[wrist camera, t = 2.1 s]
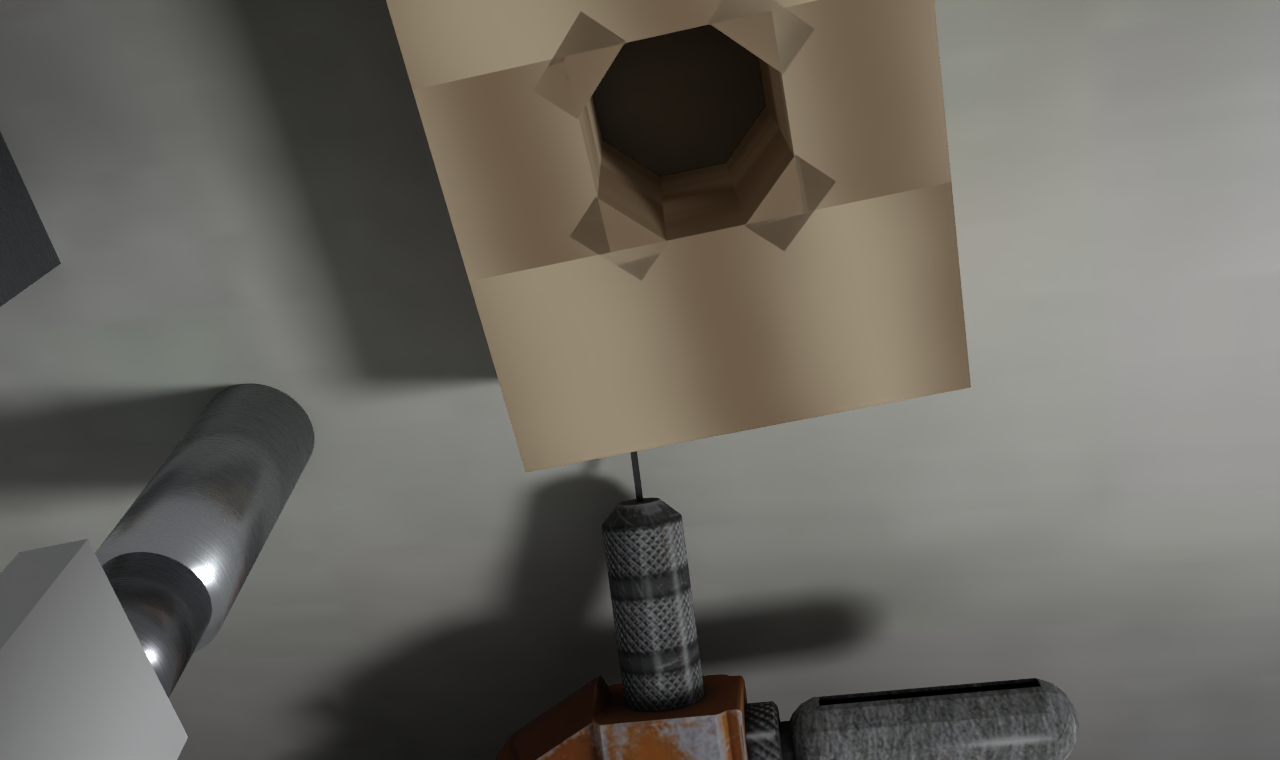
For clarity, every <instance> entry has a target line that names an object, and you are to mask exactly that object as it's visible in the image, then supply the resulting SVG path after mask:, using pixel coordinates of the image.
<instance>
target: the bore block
mask: <svg viewBox="0 0 1280 760" xmlns="http://www.w3.org/2000/svg"><path fill="white" fill-rule="evenodd" d="M386 2H387V5H388V9H389V12H390V16H391V19H392V22H393V26H394V29H395V32H396V36H397V39H398V43H399V46H400V49H401V53H402V56H403V59H404V63H405V66H406V70H407V73H408V76H409V80H410V83H411V86H412V90H413V93H414V97H415V100H416V103H417V107H418V110H419V113H420V117H421V120H422V124H423V127H424V130H425V134H426V137H427V141H428V144H429V147H430V151H431V154H432V157H433V161H434V164H435V168H436V171H437V174H438V178H439V181H440V184H441V188H442V191H443V195H444V198H445V201H446V205H447V208H448V211H449V215H450V218H451V222H452V225H453V228H454V232H455V235H456V238H457V242H458V245H459V249H460V252H461V255H462V259H463V262H464V265H465V269H466V272H467V276H468V279H469V282H470V286H471V289H472V292H473V296H474V299H475V303H476V306H477V309H478V313H479V316H480V320H481V323H482V326H483V330H484V333H485V336H486V340H487V343H488V347H489V350H490V353H491V357H492V360H493V363H494V367H495V370H496V374H497V377H498V380H499V384H500V387H501V390H502V394H503V397H504V401H505V404H506V407H507V411H508V414H509V417H510V421H511V424H512V428H513V431H514V434H515V438H516V441H517V444H518V448H519V451H520V455H521V458H522V461H523V465H524V468H525V472H530V471H535V470H541V469H546V468H551V467H556V466H562V465H567V464H572V463H577V462H582V461H588V460H593V459H598V458H603V457H609V456H614V455H619V454H624V453H629V452H635V451H640V450H645V449H650V448H656V447H661V446H666V445H671V444H677V443H682V442H687V441H692V440H697V439H703V438H708V437H713V436H718V435H724V434H729V433H734V432H739V431H744V430H750V429H755V428H760V427H765V426H771V425H776V424H781V423H786V422H792V421H797V420H802V419H807V418H812V417H818V416H823V415H828V414H833V413H839V412H844V411H849V410H854V409H859V408H865V407H870V406H875V405H880V404H886V403H891V402H896V401H901V400H907V399H912V398H917V397H922V396H927V395H933V394H938V393H943V392H948V391H954V390H959V389H964V388H969V387H971V385H970V374H969V363H968V353H967V342H966V332H965V321H964V311H963V300H962V290H961V279H960V268H959V258H958V247H957V237H956V226H955V216H954V205H953V195H952V184H951V173H950V163H949V152H948V142H947V131H946V121H945V110H944V100H943V89H942V78H941V68H940V57H939V47H938V36H937V26H936V15H935V4H934V0H386ZM709 24H711V25H712V26H714V27H715V28H716V29H718V30H719V31H721V32H722V33H724V34H725V35H727V36H728V37H730V38H731V39H733V40H734V41H735V42H737V43H738V44H740V45H741V46H743V47H744V48H746V49H747V50H749V51H750V52H751V53H753V54H754V55H756V56H757V57H758V58H759V65H760V71H761V77H762V83H763V89H764V95H765V101H766V106H765V107H764V109H763V110H762V112H761V113H760V115H759V116H758V118H757V119H756V121H755V122H754V123H753V125H752V126H751V128H750V129H749V131H748V132H747V134H746V135H745V136H744V138H743V139H742V141H741V142H740V144H739V145H738V147H737V148H736V150H735V151H734V152H733V154H732V155H731V157H730V158H729V160H728V161H727V163H723V164H718V165H714V166H709V167H704V168H700V169H695V170H690V171H685V172H681V173H676V174H671V175H666V176H662V177H659V176H658V175H656V174H655V173H653V172H652V171H650V170H649V169H647V168H645V167H644V166H642V165H641V164H639V163H638V162H636V161H634V160H633V159H631V158H630V157H628V156H627V155H625V154H623V153H622V152H620V151H619V150H617V149H616V148H614V147H612V146H611V145H609V144H608V143H606V142H605V141H603V139H602V135H601V131H600V126H599V122H598V118H597V113H596V109H595V104H594V100H593V96H592V95H593V93H594V91H595V90H596V88H597V87H598V85H599V83H600V82H601V80H602V78H603V77H604V75H605V74H606V72H607V70H608V69H609V67H610V66H611V64H612V62H613V61H614V59H615V58H616V56H617V54H618V53H619V51H620V50H621V48H622V46H623V45H624V43H628V42H632V41H637V40H641V39H646V38H650V37H655V36H659V35H664V34H668V33H673V32H677V31H682V30H686V29H691V28H695V27H700V26H704V25H709Z"/></svg>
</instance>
